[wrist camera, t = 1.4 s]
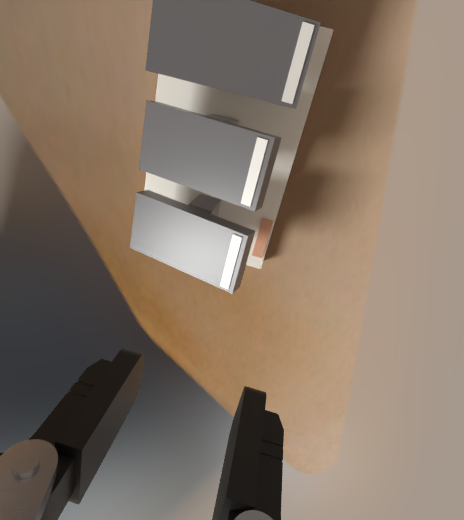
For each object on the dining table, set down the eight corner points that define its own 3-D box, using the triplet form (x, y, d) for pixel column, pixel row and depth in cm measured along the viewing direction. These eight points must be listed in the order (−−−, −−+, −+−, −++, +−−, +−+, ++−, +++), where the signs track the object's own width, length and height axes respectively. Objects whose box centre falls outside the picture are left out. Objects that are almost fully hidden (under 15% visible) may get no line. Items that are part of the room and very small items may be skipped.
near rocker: (158, -22, 16) (155, -30, 15) (313, 25, 18) (321, 22, 17) (148, 70, 18) (145, 70, 17) (290, 107, 20) (296, 109, 18)
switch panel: (176, -4, 22) (149, -30, 18) (331, 34, 21) (340, 16, 17) (146, 228, 28) (121, 248, 24) (262, 261, 28) (256, 287, 24)
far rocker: (147, 189, 23) (135, 192, 22) (255, 231, 21) (247, 236, 20) (141, 242, 25) (129, 248, 24) (239, 286, 22) (231, 294, 21)
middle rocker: (159, 101, 21) (145, 100, 20) (281, 137, 18) (274, 137, 17) (150, 167, 22) (137, 169, 21) (261, 207, 20) (254, 211, 19)
